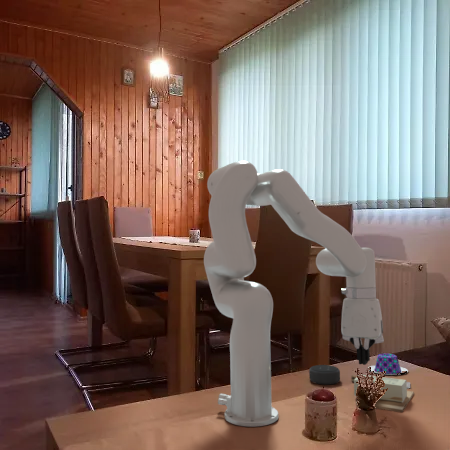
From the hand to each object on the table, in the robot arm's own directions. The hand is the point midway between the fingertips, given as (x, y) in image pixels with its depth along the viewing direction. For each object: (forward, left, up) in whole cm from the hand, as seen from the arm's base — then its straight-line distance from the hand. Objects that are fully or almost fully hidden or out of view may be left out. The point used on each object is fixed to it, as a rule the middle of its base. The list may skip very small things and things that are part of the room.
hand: (363, 363), depth 125 cm
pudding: (0, +29, -9) cm, 31 cm away
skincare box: (-2, 0, -6) cm, 6 cm away
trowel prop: (+1, +14, -9) cm, 16 cm away
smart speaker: (-14, +9, -9) cm, 19 cm away
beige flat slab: (+5, 0, -9) cm, 10 cm away
